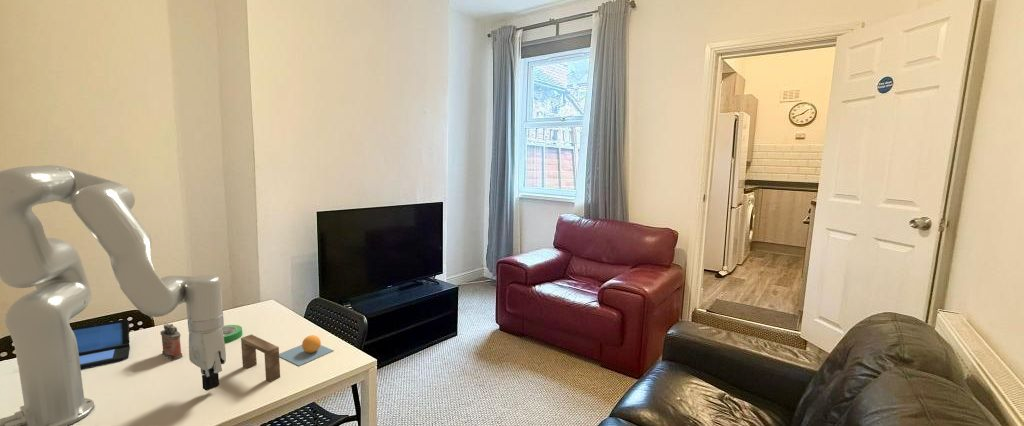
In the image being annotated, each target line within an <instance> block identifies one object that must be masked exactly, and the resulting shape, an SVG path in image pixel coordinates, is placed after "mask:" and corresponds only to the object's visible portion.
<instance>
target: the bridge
mask: <svg viewBox="0 0 1024 426" xmlns="http://www.w3.org/2000/svg"><path fill="white" fill-rule="evenodd" d="M240 343H241V346H240V347H241V359H242V361H241V363H242V368H244V369H250V368H252V367H253V366H256V365H257V361H258V359H257V351H259V352H261V353H263V354H264V369H265V380H266V381H268V382H272V381H274V380H277V379H279V378H281V367H280V366H281V365H280V364H281V363H280V357H279V354H280V348H279V346H278V345H275V344H273V343H271V342H269V341H267V340H264V339H262V338H260V337H258V336H257V335H253V334H248V335H246V336H241V337H240Z"/></svg>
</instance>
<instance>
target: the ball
mask: <svg viewBox="0 0 1024 426" xmlns="http://www.w3.org/2000/svg"><path fill="white" fill-rule="evenodd" d="M301 345H302V348H303V350H304V351H305V352H308V353H313V352H315V351H317V350H318V349H319V348H320V345H322V342H321V339H320V337H319V336H318V335H315V334H314V335H313V334H311V335H308V336H306V337H305V338H304V339H303V341H302V342H301Z"/></svg>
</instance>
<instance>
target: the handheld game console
mask: <svg viewBox="0 0 1024 426" xmlns="http://www.w3.org/2000/svg"><path fill="white" fill-rule="evenodd" d="M70 327H71V326H70ZM71 329H72V331H73V332H74V334H75V337H76V340H77V346H78V352H79V360H80V368H81V370H86V369H90V368H95V367H100V366H103V365H108V364H114V363H118V362H123V361H126V360H127V359H129V358H130V357H129V356H130V351H131V345H130V322H129V320H128V319H123V318H122V319H116V320H110V321H105V322H98V323H92V324H91V323H90V324H86V325H79V326H72V327H71ZM85 368H86V369H85Z"/></svg>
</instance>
